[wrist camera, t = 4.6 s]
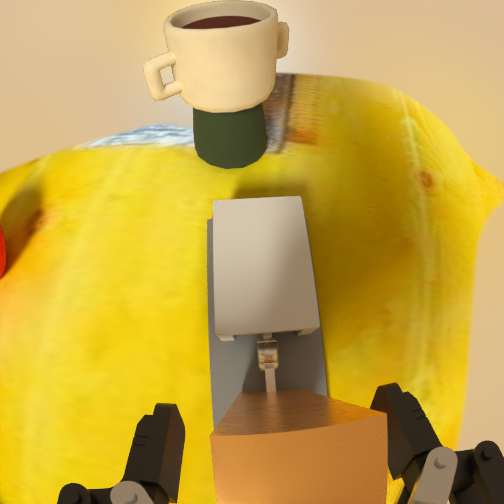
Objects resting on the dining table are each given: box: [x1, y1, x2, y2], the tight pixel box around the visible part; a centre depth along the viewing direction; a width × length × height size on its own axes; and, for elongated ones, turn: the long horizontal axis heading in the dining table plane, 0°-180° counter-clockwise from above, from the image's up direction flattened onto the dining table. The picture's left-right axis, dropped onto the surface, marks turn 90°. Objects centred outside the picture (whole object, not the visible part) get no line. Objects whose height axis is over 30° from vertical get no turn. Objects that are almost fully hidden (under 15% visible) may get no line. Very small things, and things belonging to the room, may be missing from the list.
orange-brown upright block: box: [210, 333, 388, 504], centre depth 11 cm, size 17×4×12 cm, turn 4°
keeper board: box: [207, 196, 328, 430], centre depth 14 cm, size 27×7×5 cm, turn 4°
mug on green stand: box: [144, 0, 289, 169], centre depth 19 cm, size 11×7×13 cm, turn 124°
